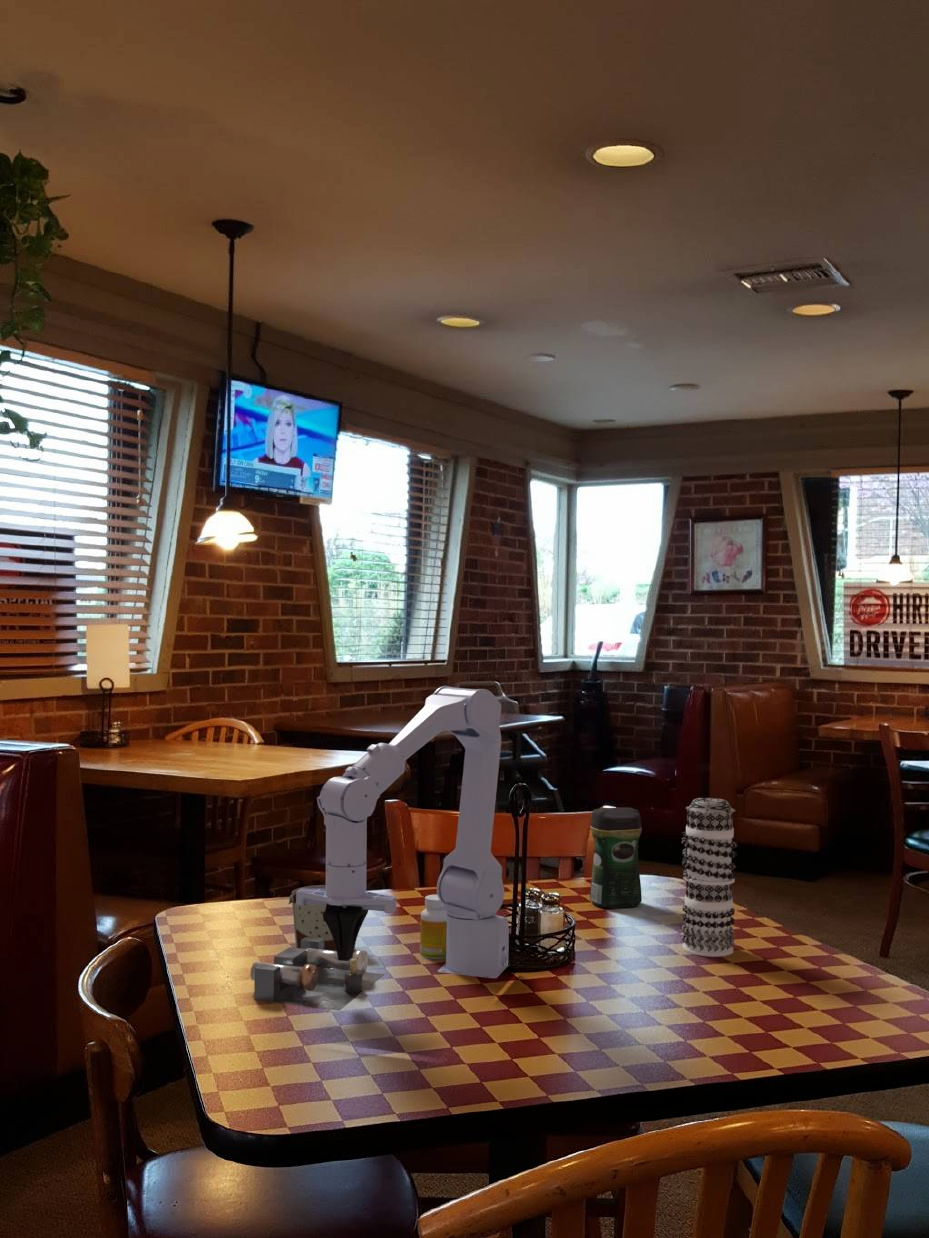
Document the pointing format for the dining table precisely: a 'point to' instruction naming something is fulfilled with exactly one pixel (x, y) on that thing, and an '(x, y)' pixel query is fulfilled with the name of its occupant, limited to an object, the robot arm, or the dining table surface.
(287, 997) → the mount
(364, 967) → the silver long cylinder
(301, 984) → the copper-capped metal rod
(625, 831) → the coffee jar
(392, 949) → the dining table surface
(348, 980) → the potentiometer
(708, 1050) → the dining table surface
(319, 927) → the food container
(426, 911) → the supplement bottle
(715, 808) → the decorative candle
